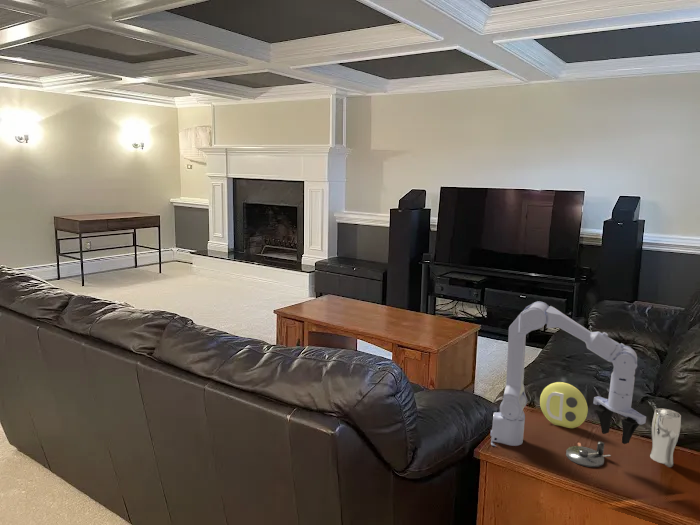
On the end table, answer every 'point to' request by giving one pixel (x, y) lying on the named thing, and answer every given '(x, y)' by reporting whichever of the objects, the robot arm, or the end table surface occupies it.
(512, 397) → the robot arm
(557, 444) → the end table surface
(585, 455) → the cam dial
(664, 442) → the beer glass
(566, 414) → the emoji
